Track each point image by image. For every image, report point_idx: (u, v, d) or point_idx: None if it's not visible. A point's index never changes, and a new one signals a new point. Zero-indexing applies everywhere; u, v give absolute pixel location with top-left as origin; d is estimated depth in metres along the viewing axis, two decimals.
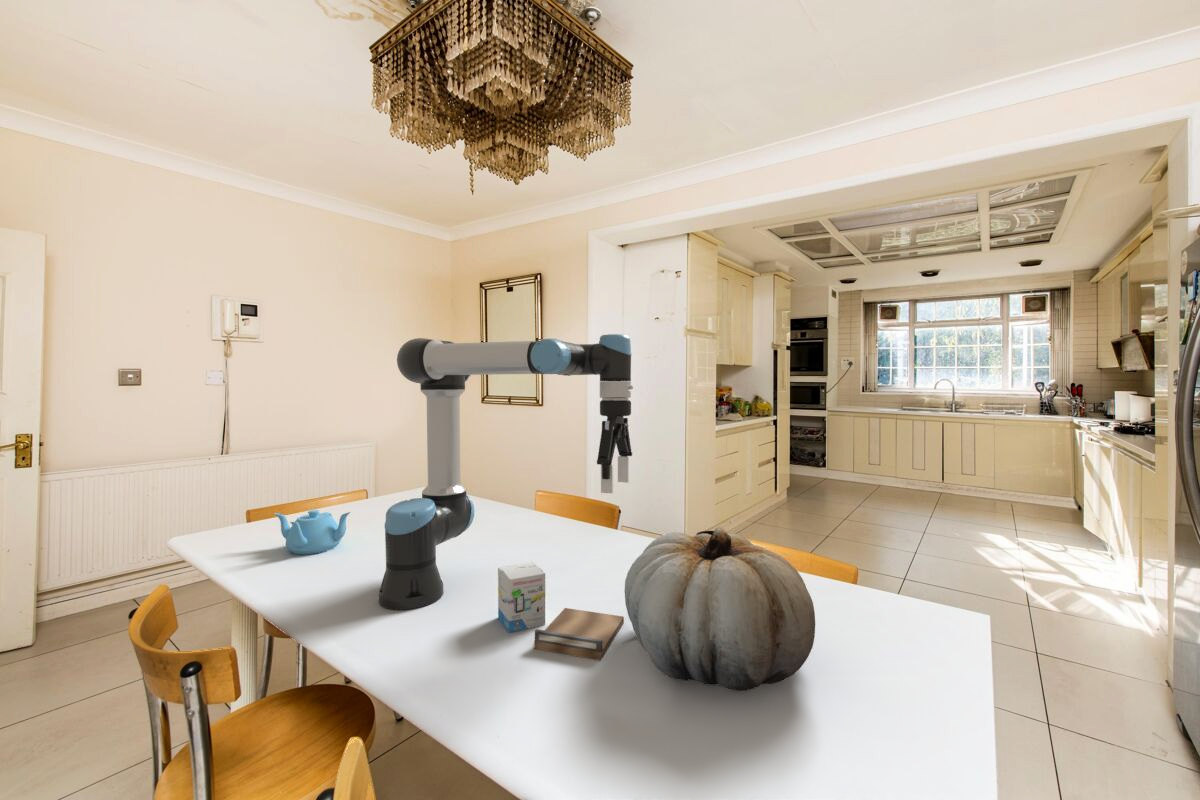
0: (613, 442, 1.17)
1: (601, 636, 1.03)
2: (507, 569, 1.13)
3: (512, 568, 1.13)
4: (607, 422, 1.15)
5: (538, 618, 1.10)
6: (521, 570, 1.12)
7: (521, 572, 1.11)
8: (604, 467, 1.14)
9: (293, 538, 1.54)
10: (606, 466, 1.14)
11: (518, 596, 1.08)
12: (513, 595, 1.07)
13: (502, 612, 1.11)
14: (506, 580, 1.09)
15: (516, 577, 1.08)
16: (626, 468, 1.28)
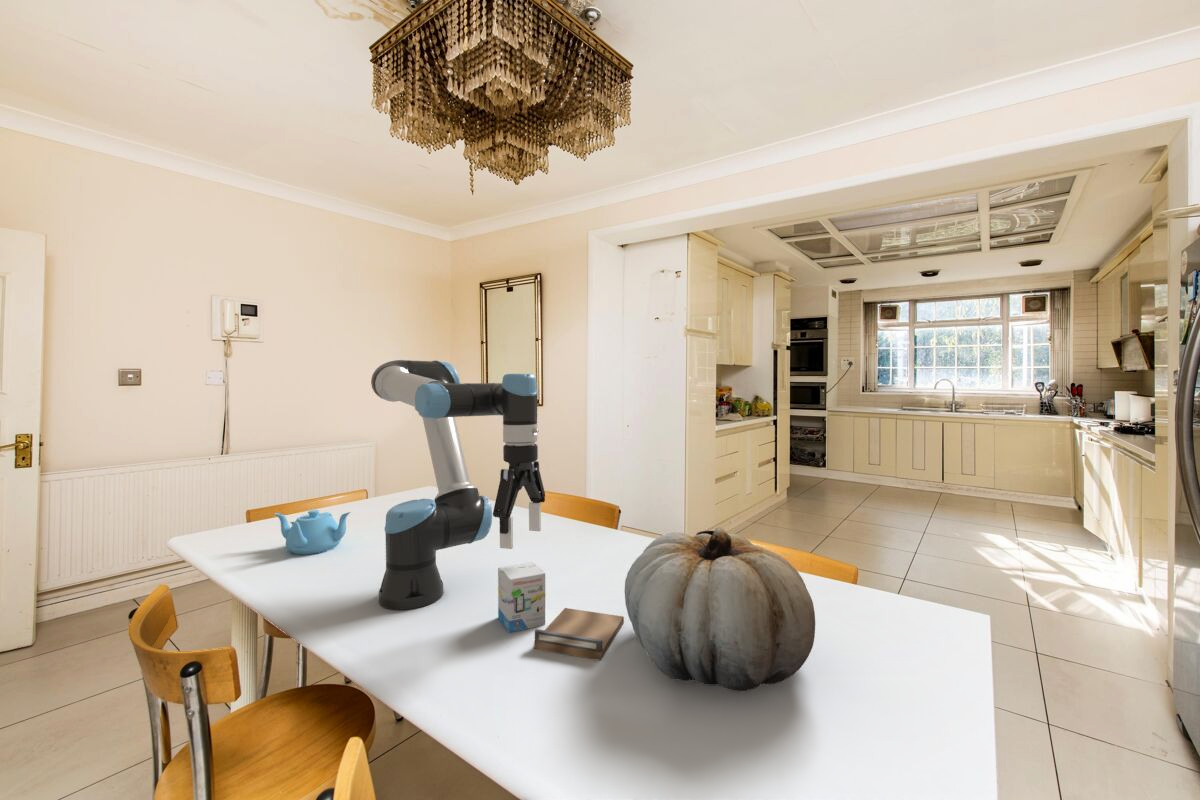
0: (514, 492, 1.07)
1: (601, 636, 1.03)
2: (507, 569, 1.13)
3: (512, 568, 1.13)
4: (506, 471, 1.06)
5: (538, 618, 1.10)
6: (521, 570, 1.12)
7: (521, 572, 1.11)
8: (502, 521, 1.04)
9: (293, 538, 1.54)
10: (503, 520, 1.04)
11: (518, 596, 1.08)
12: (513, 595, 1.07)
13: (502, 612, 1.11)
14: (506, 580, 1.09)
15: (516, 577, 1.08)
16: (537, 516, 1.18)
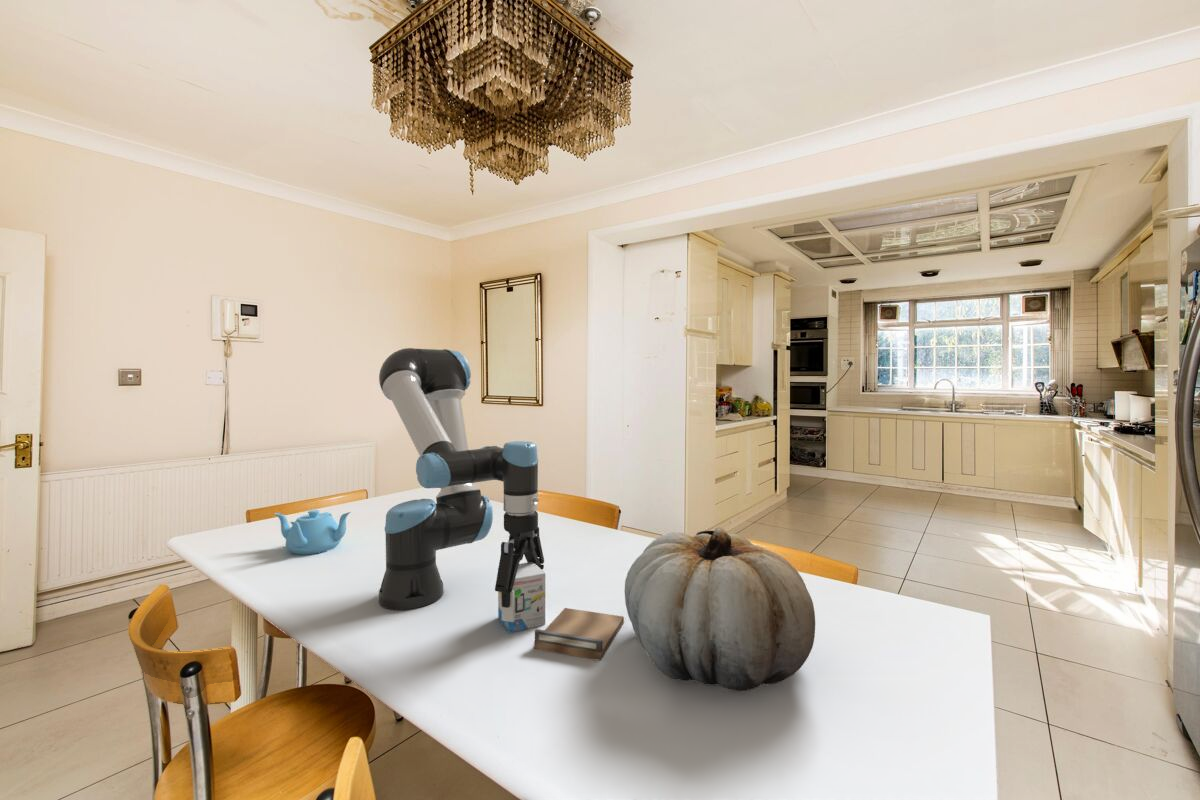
0: (515, 564, 1.08)
1: (601, 636, 1.03)
2: None
3: None
4: (506, 545, 1.06)
5: (538, 618, 1.10)
6: (521, 570, 1.12)
7: (521, 572, 1.11)
8: (503, 595, 1.05)
9: (293, 538, 1.54)
10: (505, 594, 1.05)
11: (518, 596, 1.08)
12: None
13: None
14: None
15: (516, 577, 1.08)
16: None
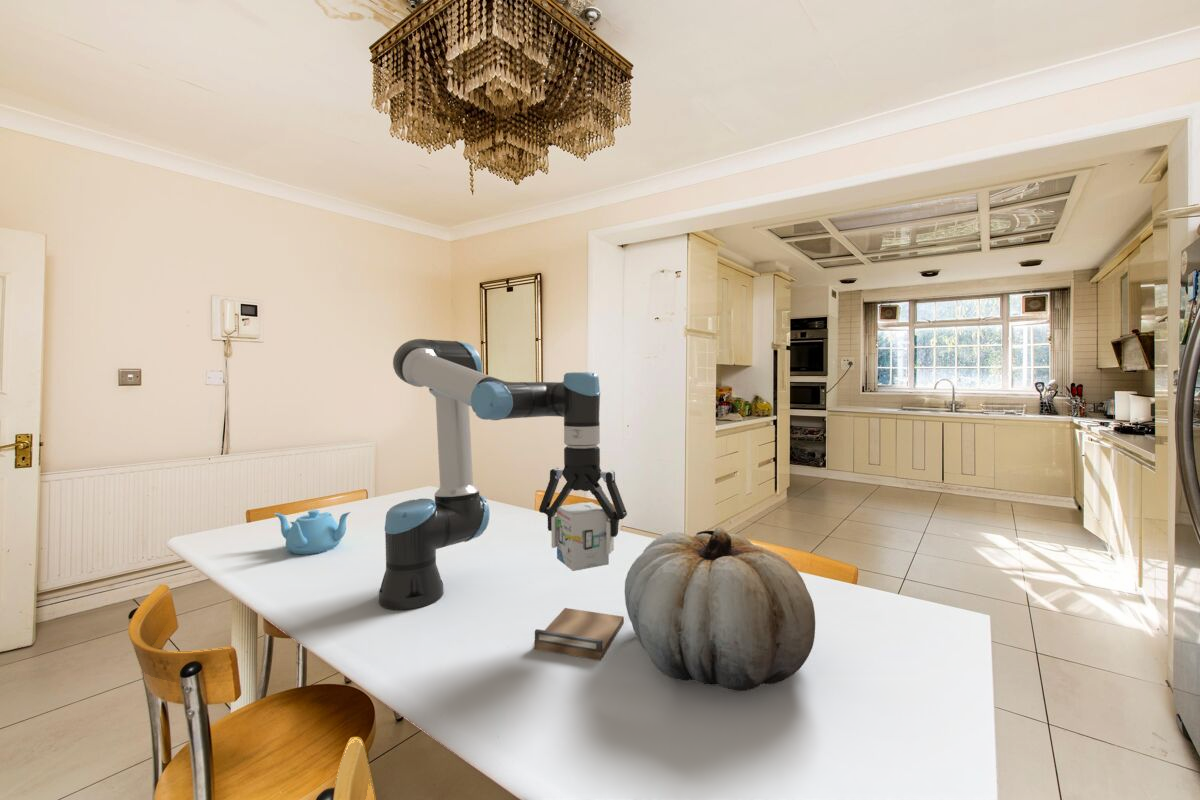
0: (560, 493, 1.07)
1: (601, 636, 1.03)
2: (583, 503, 1.09)
3: (585, 504, 1.08)
4: None
5: (568, 559, 1.03)
6: (580, 507, 1.06)
7: (574, 507, 1.06)
8: None
9: (293, 538, 1.54)
10: None
11: (560, 526, 1.06)
12: (558, 523, 1.07)
13: None
14: None
15: (561, 507, 1.07)
16: None
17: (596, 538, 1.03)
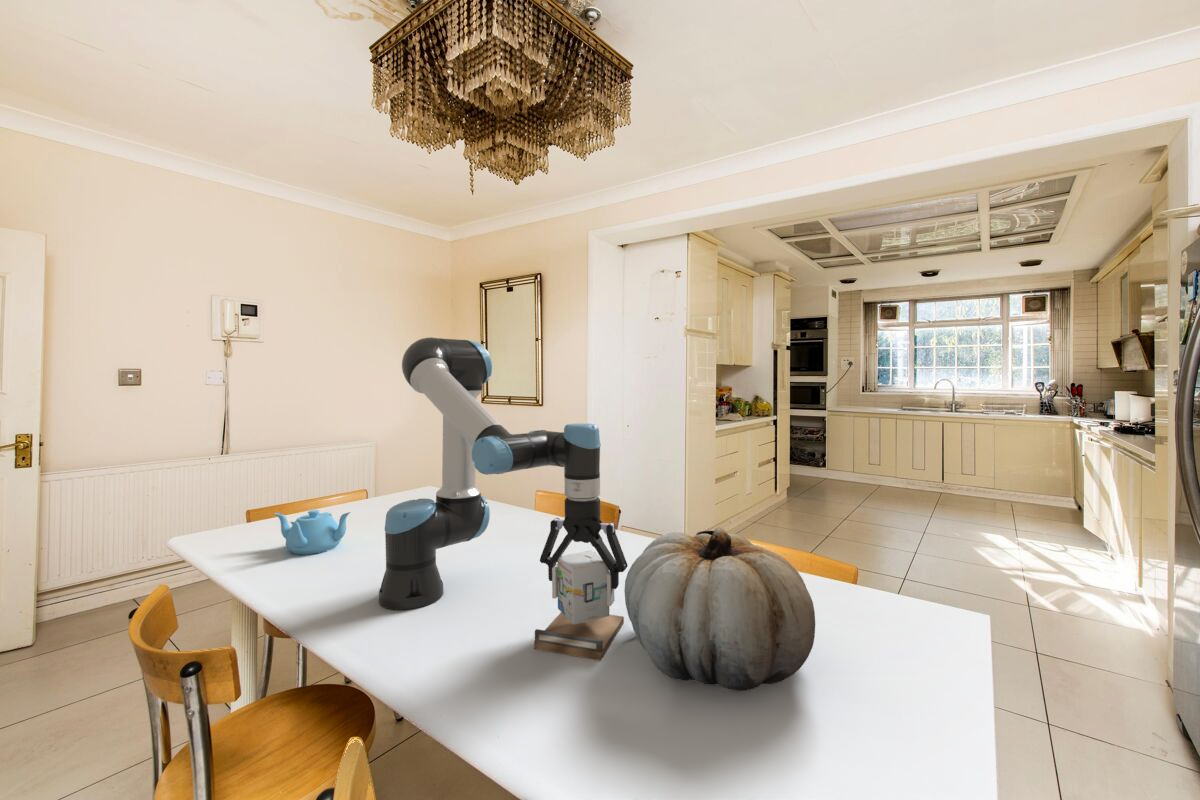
0: (560, 544, 1.07)
1: (601, 636, 1.03)
2: (583, 553, 1.10)
3: (586, 554, 1.09)
4: None
5: (569, 612, 1.03)
6: (580, 558, 1.07)
7: (575, 558, 1.06)
8: None
9: (293, 538, 1.54)
10: None
11: (560, 577, 1.07)
12: (558, 574, 1.08)
13: None
14: None
15: (562, 558, 1.07)
16: None
17: (596, 590, 1.04)
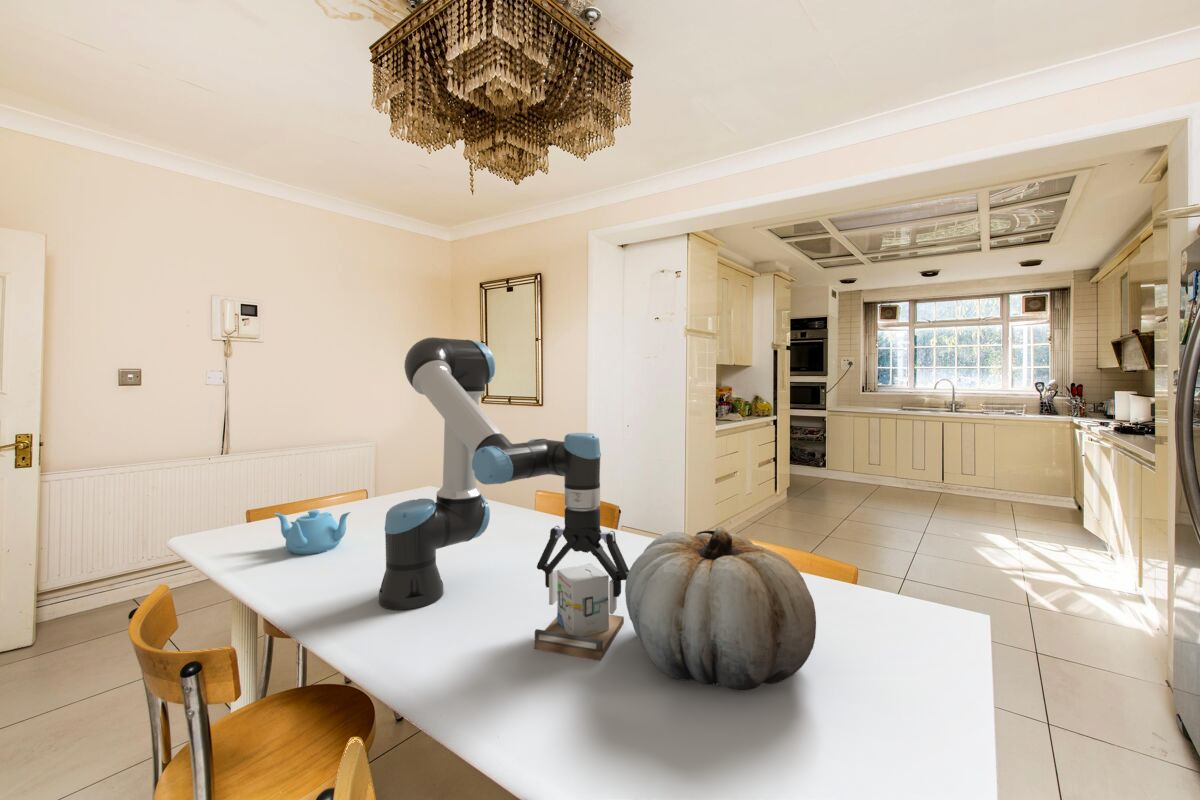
0: (559, 552, 1.07)
1: (601, 636, 1.03)
2: (583, 566, 1.10)
3: (586, 568, 1.09)
4: (553, 528, 1.09)
5: (569, 626, 1.03)
6: (580, 572, 1.07)
7: (574, 572, 1.07)
8: None
9: (293, 538, 1.54)
10: None
11: (560, 591, 1.07)
12: (558, 587, 1.08)
13: None
14: None
15: (562, 571, 1.07)
16: None
17: (596, 604, 1.04)
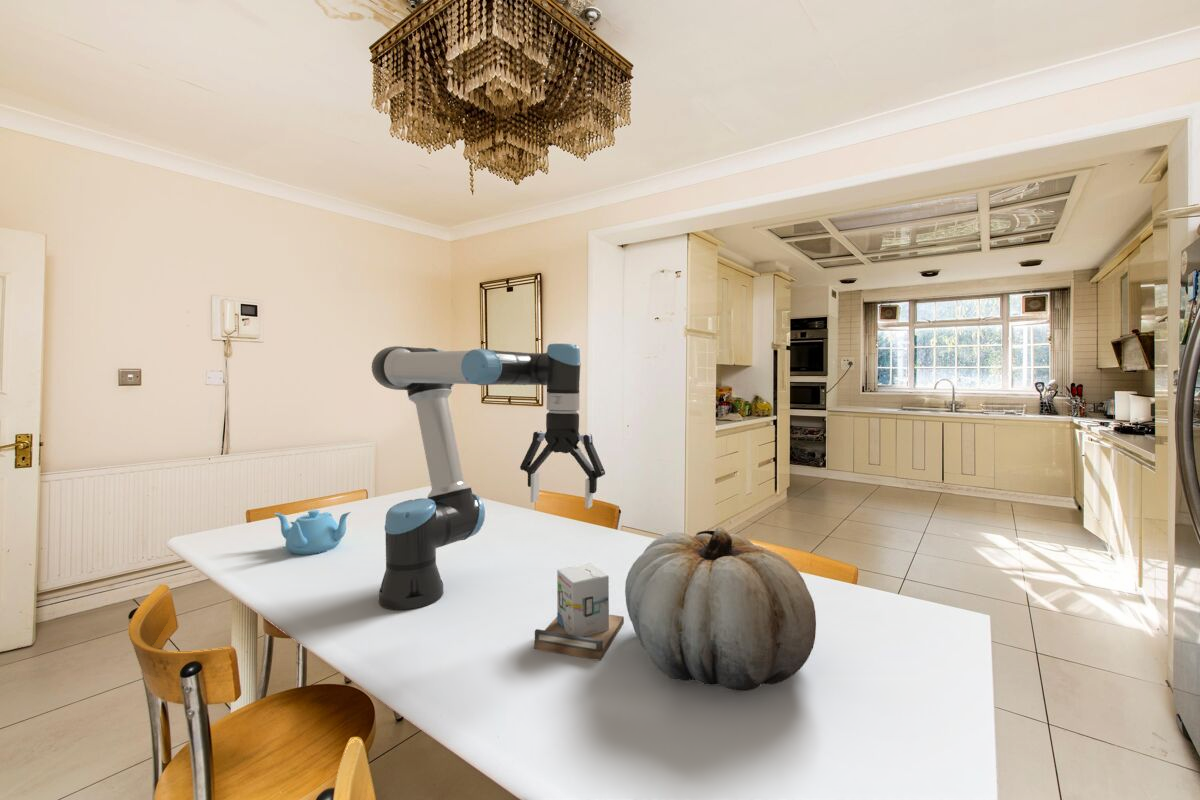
0: None
1: (601, 636, 1.03)
2: (583, 566, 1.10)
3: (586, 568, 1.09)
4: None
5: (569, 626, 1.03)
6: (580, 572, 1.07)
7: (574, 572, 1.07)
8: None
9: (293, 538, 1.54)
10: None
11: (560, 591, 1.07)
12: (558, 587, 1.08)
13: None
14: None
15: (562, 571, 1.07)
16: None
17: (596, 604, 1.04)
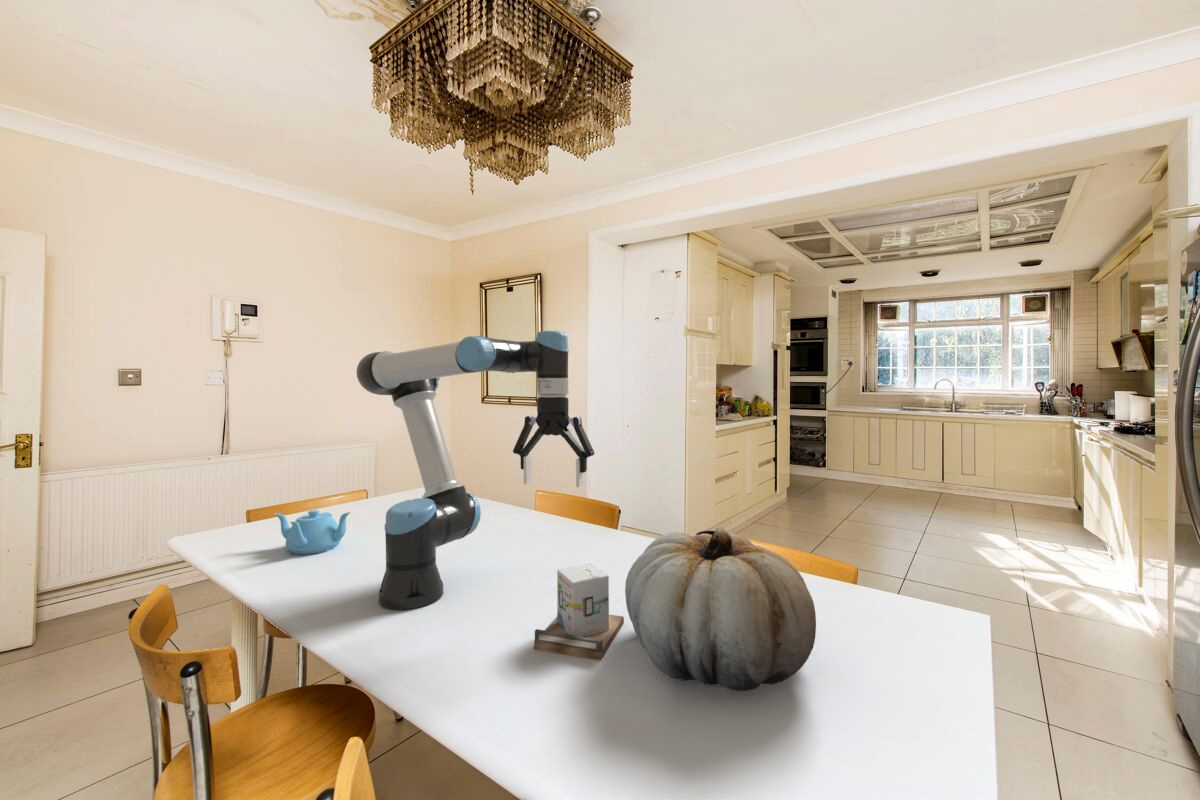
0: (532, 437, 1.22)
1: (601, 636, 1.03)
2: (583, 566, 1.10)
3: (586, 568, 1.09)
4: None
5: (569, 626, 1.03)
6: (580, 572, 1.07)
7: (574, 572, 1.07)
8: None
9: (293, 538, 1.54)
10: None
11: (560, 591, 1.07)
12: (558, 587, 1.08)
13: None
14: None
15: (562, 571, 1.07)
16: None
17: (596, 604, 1.04)
